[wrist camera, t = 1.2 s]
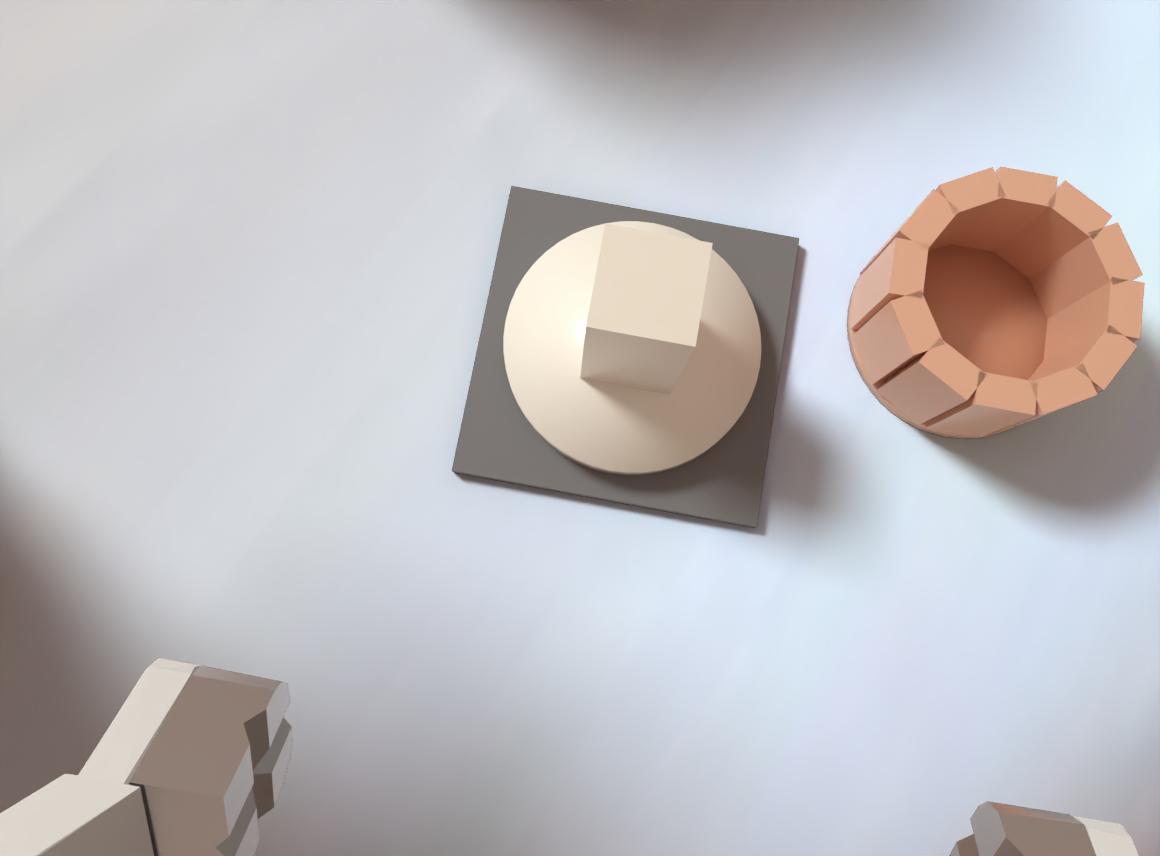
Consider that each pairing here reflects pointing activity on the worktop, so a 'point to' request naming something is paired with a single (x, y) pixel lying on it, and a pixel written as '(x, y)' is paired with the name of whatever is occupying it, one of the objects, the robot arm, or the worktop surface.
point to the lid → (631, 347)
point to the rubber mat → (519, 455)
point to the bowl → (995, 305)
